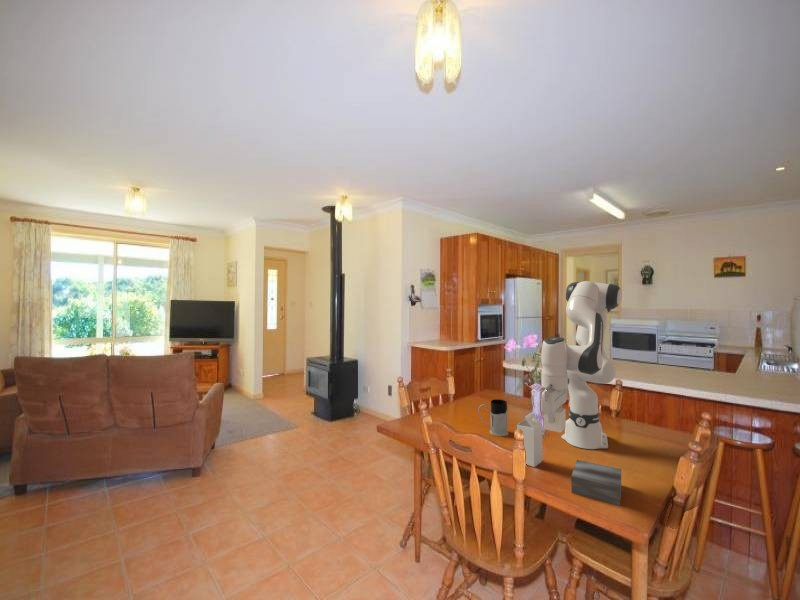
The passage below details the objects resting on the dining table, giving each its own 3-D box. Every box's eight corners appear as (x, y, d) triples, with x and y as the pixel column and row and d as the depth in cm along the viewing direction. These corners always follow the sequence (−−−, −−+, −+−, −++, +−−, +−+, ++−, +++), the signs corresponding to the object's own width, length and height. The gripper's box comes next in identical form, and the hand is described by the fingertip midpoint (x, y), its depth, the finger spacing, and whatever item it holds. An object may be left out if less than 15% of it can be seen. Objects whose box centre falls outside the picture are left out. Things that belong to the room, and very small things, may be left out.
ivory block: (548, 424, 136) (548, 405, 136) (565, 427, 132) (565, 408, 132) (543, 428, 131) (543, 409, 131) (561, 432, 127) (560, 413, 127)
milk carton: (517, 461, 144) (516, 414, 143) (525, 455, 149) (525, 410, 148) (534, 467, 139) (533, 418, 138) (542, 461, 144) (541, 414, 143)
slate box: (577, 475, 133) (576, 459, 133) (621, 486, 126) (621, 469, 125) (571, 493, 121) (571, 476, 121) (620, 506, 114) (620, 487, 114)
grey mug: (511, 436, 169) (510, 404, 169) (480, 436, 169) (480, 405, 169) (505, 428, 178) (505, 398, 178) (476, 429, 178) (476, 399, 178)
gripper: (554, 389, 121) (555, 430, 122) (570, 377, 137) (571, 413, 137) (535, 387, 125) (536, 426, 126) (553, 375, 141) (553, 410, 141)
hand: (554, 419), depth 132 cm, fingers closed on ivory block, 6 cm apart
